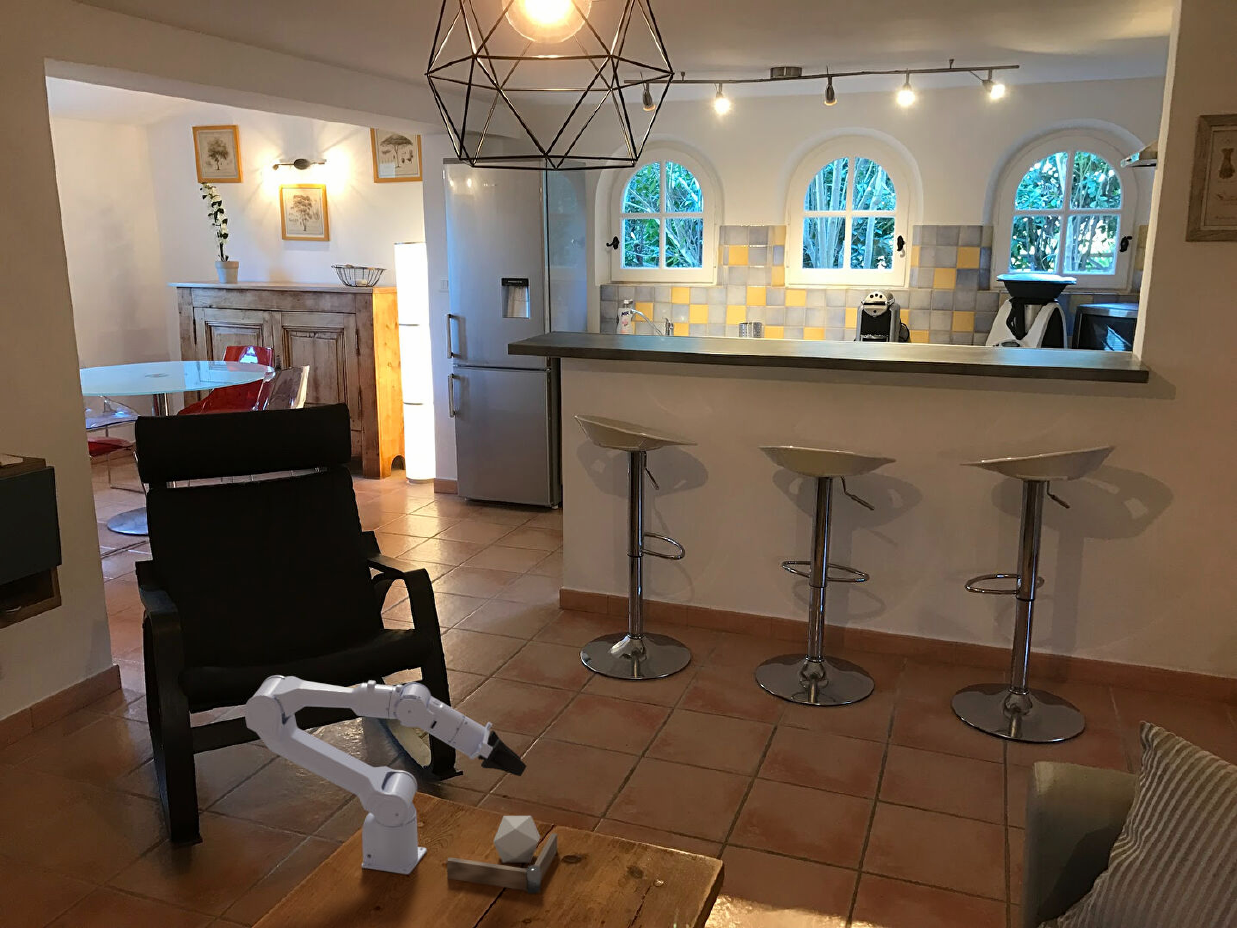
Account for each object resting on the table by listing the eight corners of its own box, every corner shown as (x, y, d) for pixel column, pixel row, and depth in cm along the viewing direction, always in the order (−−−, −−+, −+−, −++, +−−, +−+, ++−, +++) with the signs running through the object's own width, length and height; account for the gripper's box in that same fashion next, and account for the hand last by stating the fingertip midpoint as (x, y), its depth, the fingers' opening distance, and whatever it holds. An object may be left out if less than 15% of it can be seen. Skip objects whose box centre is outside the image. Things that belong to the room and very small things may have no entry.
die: (520, 880, 180) (549, 832, 181) (480, 854, 180) (509, 806, 182) (524, 870, 188) (551, 824, 189) (485, 845, 188) (513, 799, 190)
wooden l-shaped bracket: (445, 880, 179) (445, 860, 178) (474, 838, 192) (474, 819, 191) (537, 894, 175) (537, 873, 174) (560, 850, 188) (560, 831, 187)
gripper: (471, 714, 174) (537, 753, 175) (465, 705, 188) (527, 741, 189) (449, 751, 172) (516, 790, 174) (445, 739, 186) (507, 775, 188)
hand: (520, 767), depth 182 cm, fingers open, 7 cm apart
